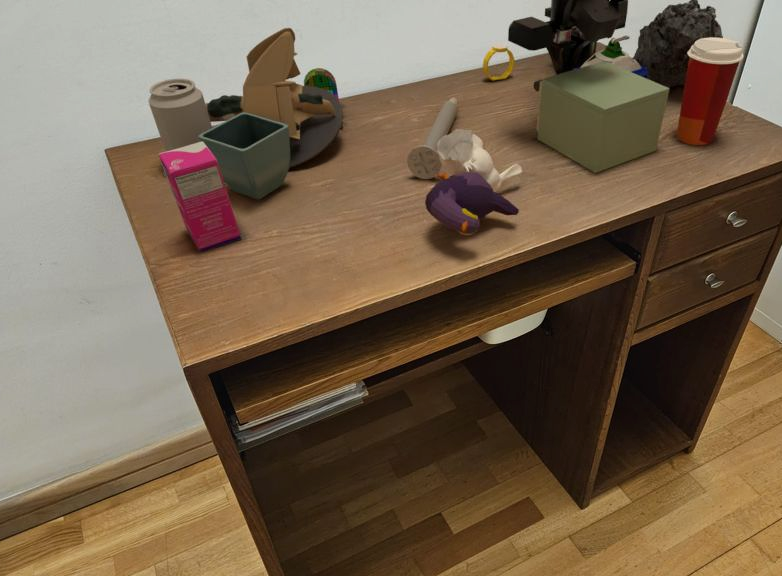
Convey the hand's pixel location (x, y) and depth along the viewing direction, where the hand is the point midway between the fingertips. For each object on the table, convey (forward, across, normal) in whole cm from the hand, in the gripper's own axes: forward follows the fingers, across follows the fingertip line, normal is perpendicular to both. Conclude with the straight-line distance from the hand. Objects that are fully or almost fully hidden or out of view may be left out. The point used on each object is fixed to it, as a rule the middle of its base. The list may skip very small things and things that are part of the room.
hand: (562, 82), depth 102 cm
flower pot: (+7, -49, +8) cm, 50 cm away
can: (+7, -54, +21) cm, 59 cm away
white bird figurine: (-1, -26, -9) cm, 27 cm away
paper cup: (+7, +14, -16) cm, 23 cm away
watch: (+7, +4, +22) cm, 23 cm away
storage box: (+7, 0, -9) cm, 12 cm away
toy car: (+7, +15, +4) cm, 17 cm away
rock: (+7, +26, +1) cm, 27 cm away
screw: (+6, -21, +8) cm, 23 cm away
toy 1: (+4, -40, +19) cm, 45 cm away
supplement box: (+7, -58, 0) cm, 59 cm away
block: (+7, -33, +24) cm, 41 cm away
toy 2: (+3, -27, -10) cm, 29 cm away
